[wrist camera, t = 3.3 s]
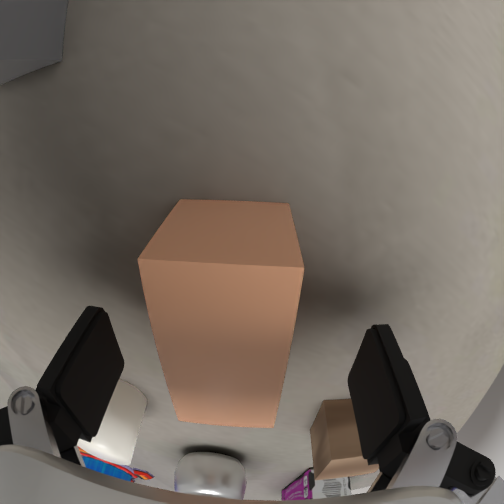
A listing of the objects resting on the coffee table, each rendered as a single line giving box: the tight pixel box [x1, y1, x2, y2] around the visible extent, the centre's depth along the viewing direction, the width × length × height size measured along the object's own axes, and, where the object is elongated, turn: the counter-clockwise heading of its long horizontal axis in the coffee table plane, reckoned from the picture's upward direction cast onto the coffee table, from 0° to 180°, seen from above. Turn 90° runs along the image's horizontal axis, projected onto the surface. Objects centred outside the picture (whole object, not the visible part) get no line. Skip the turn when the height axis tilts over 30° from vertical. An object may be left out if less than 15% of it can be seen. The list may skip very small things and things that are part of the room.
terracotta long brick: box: [138, 199, 304, 428], centre depth 11 cm, size 8×4×4 cm, turn 178°
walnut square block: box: [310, 399, 379, 480], centre depth 16 cm, size 4×4×4 cm
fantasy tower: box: [78, 446, 154, 483], centre depth 23 cm, size 12×12×12 cm
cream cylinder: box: [77, 379, 147, 465], centre depth 15 cm, size 4×4×5 cm
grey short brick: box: [0, 0, 68, 85], centre depth 4 cm, size 6×4×4 cm, turn 178°
